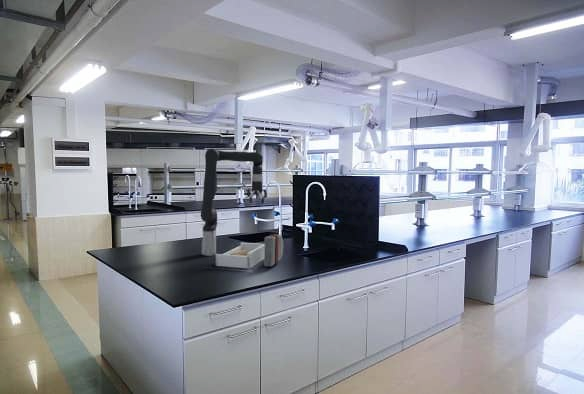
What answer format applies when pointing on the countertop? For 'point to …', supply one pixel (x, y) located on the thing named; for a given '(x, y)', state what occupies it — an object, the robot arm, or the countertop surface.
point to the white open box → (242, 261)
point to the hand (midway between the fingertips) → (256, 203)
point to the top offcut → (241, 253)
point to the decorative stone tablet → (273, 250)
